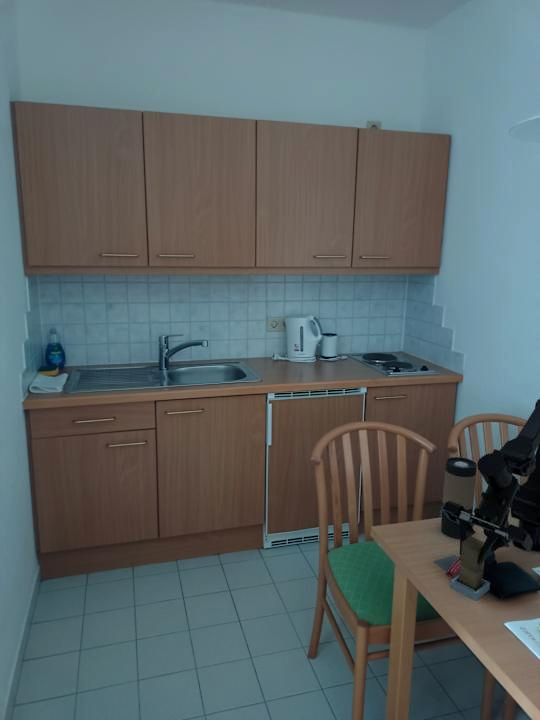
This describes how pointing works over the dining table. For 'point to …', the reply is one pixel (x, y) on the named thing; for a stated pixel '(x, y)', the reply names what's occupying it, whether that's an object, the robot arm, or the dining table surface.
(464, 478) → the travel mug
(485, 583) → the socket block
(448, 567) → the mat
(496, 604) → the dining table surface
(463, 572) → the olive tall block
